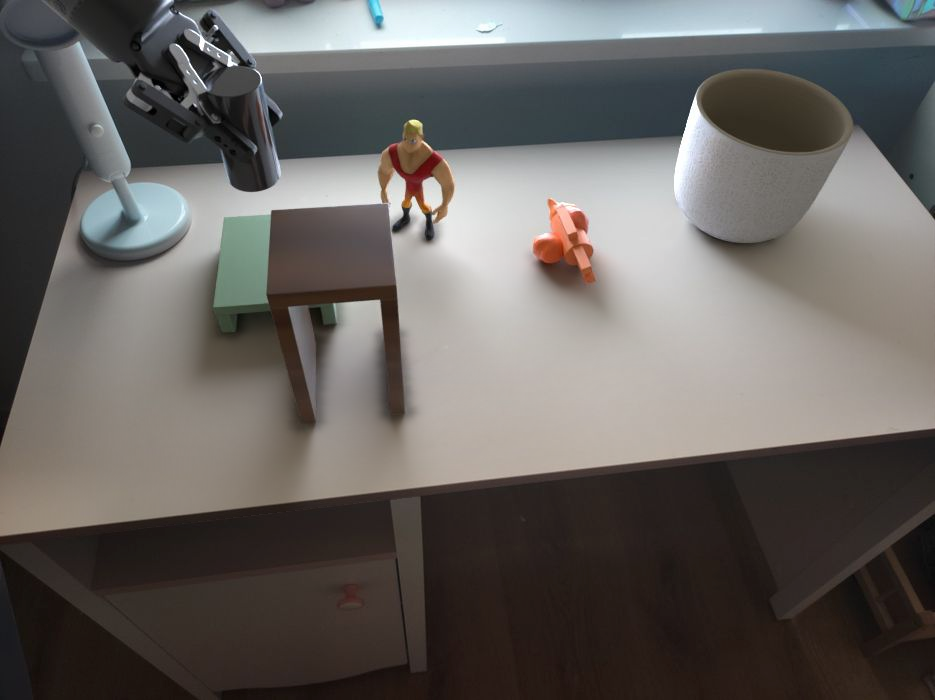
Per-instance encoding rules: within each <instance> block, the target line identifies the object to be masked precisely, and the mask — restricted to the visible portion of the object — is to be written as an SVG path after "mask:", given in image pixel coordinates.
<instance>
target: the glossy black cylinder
mask: <svg viewBox="0 0 935 700" xmlns="http://www.w3.org/2000/svg"><path fill="white" fill-rule="evenodd" d="M202 82H203V84H204V85H205V87H206V88H207V95H208V98H209V100H210V101H211V103H212V104H213V106H214V107H215V108H216V110H217V111H218V113H219V114H220V116H221V121H223V120H224V119H226V120H228V121H229V122H230V123H231V124H232V125H233V126H234V127H236V128H237V129H238V130H239V131H240V132H241V133H242V134H243V135H244V136H246V137H247V138H248V139H249V140H250V141H251V142H252V143H253V144H254V145H256V147H257V152H256V153H255V155H254V156H253V157H252V158H251V159H250V160H249V161H248V162H247V163H241V162H239V161H236V160H233V159H232V158H231V157H230V156H228V155H227V154H226V153H225V152H224V151H223V150H221V149H220V148H219V151H220V156H221V159H222V162H223V166H224V169H225V173H226V177H227V180H228V183H229V184H230V186H231V187H232V188H234V189H235V190H238V191H240V192H246V193H259V192H263V191H266V190H268V189H270V188H272V187H273V186H275V185H277V183H278V182H279V181H280V179H281V177H282V170H281V166H280V165H281V164H280V161H279V156H278V152H277V146H276V142H275V136H274V131H273V127H272V126H271V121H270V116H269V112H268V107H267V102H266V97H265V94H266V92H265V88H264V83H263V79H262V76H261V74H260V72H259V71H257V70H256V69H255V68H254V69H252V68H249V67H245V66H226V67H221V68H218V69H215V70H213V71H211V72H210V73H208V74H207V75H206V76H205V77H204V78H203V80H202Z"/></svg>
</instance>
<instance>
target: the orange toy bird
mask: <svg viewBox="0 0 935 700" xmlns="http://www.w3.org/2000/svg"><path fill="white" fill-rule="evenodd" d="M547 206H548V209H549V214H548V217H549V222H550V223H549V226H550V229H551V230H552V232H544V233H543V234H541V235H536V236H535V237H534V238H533V242H532V253H533V254H534V256H536V258H537V259H539V260H541V261H542V262H543V263H545V264H553V263H557V262H560V261H561V260H562V259H563V258H564V261H565V263H566V264H568V265H570V266H577V267H578V269H579V272H580V273H581V276H582V278H583V280H584V283H585V284H586V285H589V284H592V283H594V282H596V281H597V280H596V276H595V274H594V271H593V266H592V264H591V262H590V259H591V258H592V257H593V255H594V247H593V244H592V243H591V241H590V239H589V236H588V232H589V218H588V215H587V214H586V213H585V212H584V211H583V210H581V209H580V208H579V207H578V206H577V205H576V204H574V203H565V202H558V201H556V200H555V199H553V198H552V197H550V198H548V199H547Z"/></svg>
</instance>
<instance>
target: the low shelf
mask: <svg viewBox="0 0 935 700" xmlns="http://www.w3.org/2000/svg"><path fill="white" fill-rule="evenodd" d="M270 221H271V213H270V214H256V215H240V216H226V217H225V216H224V217H223V222H222V223H223V224H222V231H221V238H220V249H219V255H218V265H217V271H216V272H217V273H216V279H215V288H214V289H215V290H214V297H213V305H212V308H213V311H214V314H215V317H216V319H217V323H218V325H219V328H220V330H221V333H223V334H226V333H236V331H237V321H238V315H239V314H249V313H261V312H262V313H263V312H271V310H270V307H269V303H268V299H267V296H266V290H267V273H268V256H269V238H270ZM308 308H309V309H314V308H315V309H317V308H319V309H320V313H321V319H322V323H323V326H324V325H336V324H337V320H338V319H337V303H332V304H319V305H308Z"/></svg>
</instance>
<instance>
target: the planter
mask: <svg viewBox="0 0 935 700" xmlns="http://www.w3.org/2000/svg"><path fill="white" fill-rule="evenodd" d="M685 126H686V127H685V130H684V133H683V137H682V140H681V144H680V147H679V151H678V155H677V160H676V163H675V172H674V179H673V188H674V195H675V196H674V197H675V199H676V203H677V205H678V207H679V209H680V210H681V211H682V213H683V215H684V216H685V217H686V218H687V219H688V221H690V222H691V224H693V225H694V226H695V227H696V228H698V229H699V230H700V231H702V232H703V233H705V234H707V235H709V236H711V237H714V238H716V239H719V240H721V241H724V242H725V241H726V242H729V243H738V244H756V243H761V242H767V241H769V240H773V239H776V238H779V237H780V236H782V235H784V234H786V233H787V232H789V231H790V230H792V229H793V228H794V227H795V226H796V225H797V224H798V223H799V222H800V221H801V220H802V219H803V218H804V216H805V215H806V214H807V212H808V211H809V210H810V208H811V207H812V205H813V204H814V203H815V201H816V199H817V197H818V196H819V194H820V192H821V191H822V189H823V187H824V185H825V184H826V182H827V180H828V178H829V177H830V175H831V173H832V172H833V170H834V168H835V166H836V164H837V163H838V161H839V159H840V158H841V156H842V154H843V152H844V151H845V149H846V147H847V146H848V145H847V144H848V143H849V141H850V139H851V137H852V135H853V131H854V121H853V118H852V115H851V113H850V111H849V109H848V108H847V107H846V106H845V104H844V103H843V102H842V101H841V100H840V99H838V98H837V97H836V96H835V95H834V94H832V93H831V92H830V91H828V90H826V89H825V88H823V87H821V86H820V85H818V84H816V83H814V82H812V81H809V80H807V79H805V78H802V77H800V76H796V75H793V74H789V73H786V72H781V71H778V70H777V71H776V70H770V69H764V68H763V69H761V68H739V69H731V70H726V71H722V72H719V73H716V74H714V75H711V76H710V77H708V78H707V79H705V80H704V81H703V82H702V83H701V84H700V85H699V86H698V88H697V90H696V92H695V95H694V99H693V101H692V105H691V108H690V111H689V115H688V118H687V122H686V125H685Z"/></svg>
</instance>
